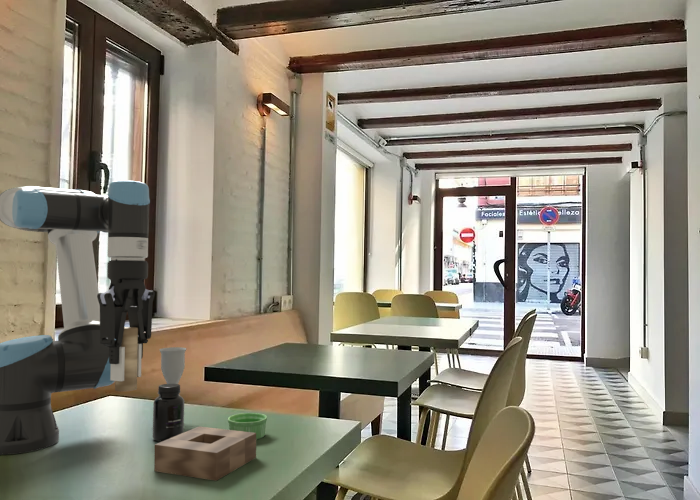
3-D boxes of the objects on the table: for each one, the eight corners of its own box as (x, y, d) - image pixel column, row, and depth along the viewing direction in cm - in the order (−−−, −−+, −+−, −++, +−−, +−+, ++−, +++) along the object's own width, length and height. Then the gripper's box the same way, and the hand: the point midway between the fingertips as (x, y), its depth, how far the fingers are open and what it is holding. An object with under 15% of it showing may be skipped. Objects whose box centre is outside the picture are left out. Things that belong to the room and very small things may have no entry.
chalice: (158, 417, 152) (159, 347, 152) (185, 415, 154) (186, 346, 154) (158, 424, 145) (159, 351, 145) (186, 421, 147) (187, 350, 147)
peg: (110, 390, 113) (111, 328, 113) (125, 386, 116) (126, 326, 117) (126, 392, 111) (127, 329, 112) (141, 388, 115) (142, 327, 115)
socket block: (154, 471, 110) (154, 444, 111) (198, 450, 124) (199, 426, 124) (216, 480, 105) (216, 452, 106) (256, 457, 118) (256, 432, 119)
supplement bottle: (174, 443, 129) (175, 388, 129) (146, 441, 130) (147, 387, 130) (189, 434, 135) (189, 383, 136) (162, 433, 137) (163, 381, 137)
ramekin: (220, 440, 131) (220, 420, 131) (239, 429, 140) (239, 411, 140) (256, 443, 129) (256, 423, 129) (273, 432, 137) (273, 414, 137)
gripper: (110, 258, 105) (108, 388, 105) (171, 260, 121) (169, 372, 120) (79, 258, 108) (76, 385, 107) (142, 260, 124) (141, 369, 123)
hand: (126, 378), depth 114 cm, fingers closed on peg, 4 cm apart
